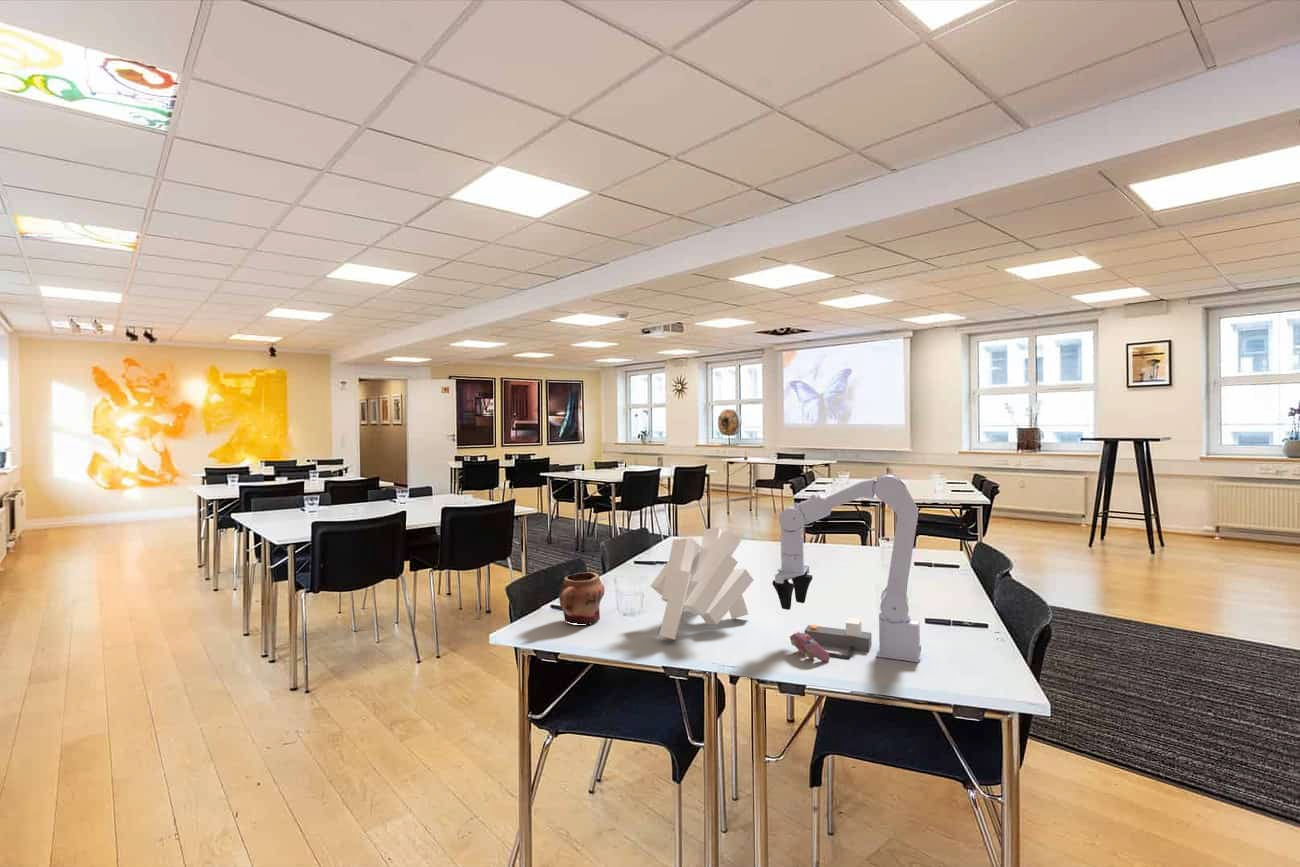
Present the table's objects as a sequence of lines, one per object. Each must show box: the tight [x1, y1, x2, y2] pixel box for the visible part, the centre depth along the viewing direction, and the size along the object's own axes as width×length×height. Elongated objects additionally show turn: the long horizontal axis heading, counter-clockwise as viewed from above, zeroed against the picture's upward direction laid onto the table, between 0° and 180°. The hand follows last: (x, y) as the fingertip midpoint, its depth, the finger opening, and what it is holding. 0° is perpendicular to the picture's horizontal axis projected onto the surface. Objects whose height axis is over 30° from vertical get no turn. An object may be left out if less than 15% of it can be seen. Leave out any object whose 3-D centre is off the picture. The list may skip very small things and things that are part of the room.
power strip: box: [803, 617, 873, 660], centre depth 156 cm, size 16×12×6 cm
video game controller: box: [789, 631, 831, 662], centre depth 151 cm, size 10×5×7 cm, turn 21°
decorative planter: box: [558, 571, 605, 625], centre depth 180 cm, size 20×12×14 cm, turn 160°
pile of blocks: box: [650, 527, 754, 640], centre depth 178 cm, size 35×30×35 cm
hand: (793, 605), depth 160 cm, fingers open, 7 cm apart
